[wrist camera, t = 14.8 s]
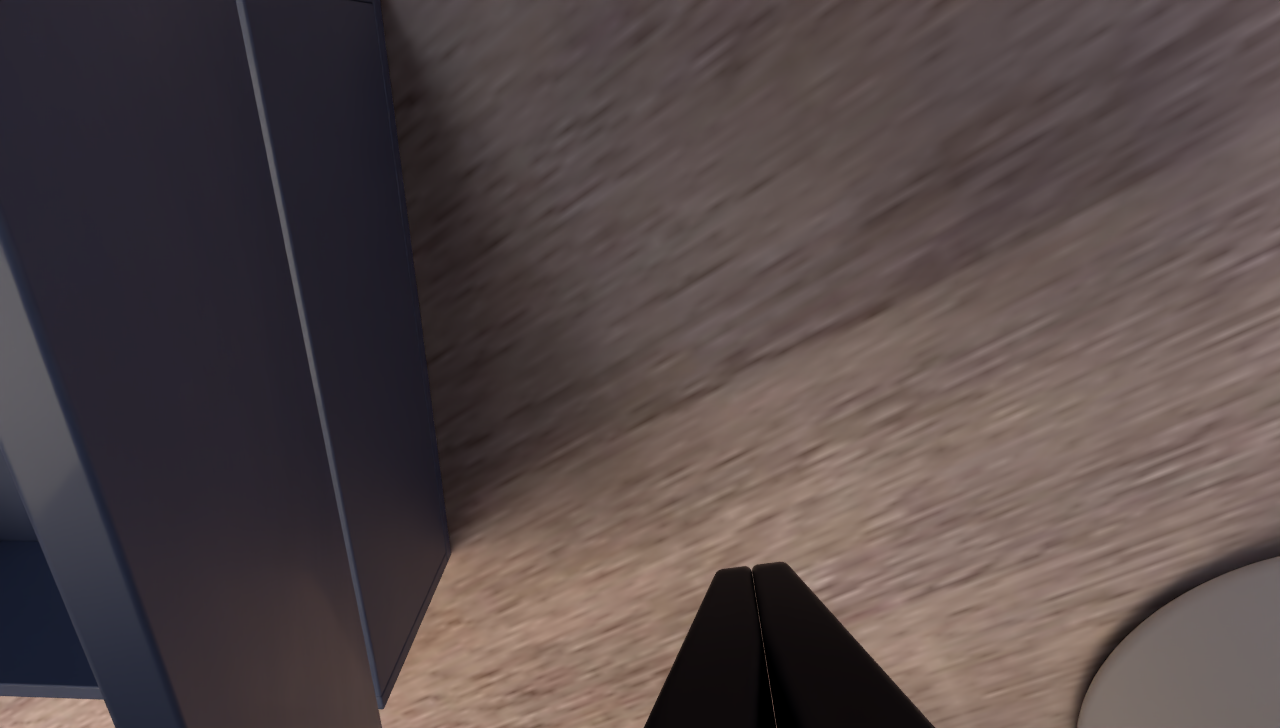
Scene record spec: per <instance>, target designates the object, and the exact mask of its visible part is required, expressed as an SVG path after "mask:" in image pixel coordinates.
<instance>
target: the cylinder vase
mask: <svg viewBox="0 0 1280 728" xmlns="http://www.w3.org/2000/svg"><path fill="white" fill-rule="evenodd" d="M1077 728H1280V556H1278V557H1274V558H1270V559H1267V560H1263V561H1260V562H1256V563H1253V564H1250V565H1247V566H1244V567H1241V568H1238V569H1236V570H1233V571H1230V572H1228V573H1225V574H1223V575H1221V576H1218V577H1216V578H1214V579H1211V580H1209V581H1207V582H1205V583H1203V584H1201V585H1199V586H1197V587H1195V588H1193V589H1191V590H1189V591H1188V592H1186V593H1184V594H1182V595H1181V596H1179V597H1177V598H1176V599H1174V600H1172V601H1171V602H1169V603H1168V604H1166V605H1165V606H1163V607H1162V608H1160V609H1159V610H1158V611H1156V612H1155V613H1153V614H1152V615H1151V616H1149V617H1148V618H1147V619H1146V620H1144V621H1143V622H1142V623H1141V624H1140V625H1138V626H1137V627H1136V628H1135V629H1134V630H1133V631H1132V632H1131V633H1130V634H1129V635H1127V637H1126V638H1125V639H1124V640H1123V641H1122V642H1121V643H1120V644H1119V645H1118V646H1117V647H1116V648H1115V649H1114V650H1113V652H1112V653H1111V654H1110V655H1109V657H1108V658H1107V659H1106V660H1105V662H1104V663H1103V665H1102V666H1101V667H1100V669H1099V671H1098V672H1097V674H1096V675H1095V677H1094V679H1093V681H1092V683H1091V685H1090V686H1089V689H1088V691H1087V693H1086V695H1085V698H1084V700H1083V703H1082V707H1081V710H1080V714H1079V719H1078V724H1077Z"/></svg>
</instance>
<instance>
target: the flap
mask: <svg viewBox="0 0 1280 728" xmlns="http://www.w3.org/2000/svg"><path fill="white" fill-rule="evenodd" d="M0 449H1V452H2V454H3V456H4V459H5V461H6V464H7V466H8V469H9V471H10V473H11V476H12V478H13V481H14V483H15V485H16V488H17V490H18V493H19V495H20V498H21V500H22V502H23V505H24V507H25V510H26V512H27V515H28V517H29V519H30V522H31V524H32V527H33V529H34V531H35V534H36V536H37V539H38V541H39V544H40V546H41V548H42V551H43V553H44V556H45V558H46V561H47V563H48V565H49V568H50V570H51V573H52V575H53V577H54V580H55V582H56V585H57V587H58V590H59V592H60V594H61V597H62V599H63V602H64V604H65V607H66V609H67V611H68V614H69V616H70V619H71V621H72V623H73V626H74V628H75V631H76V633H77V636H78V638H79V640H80V643H81V645H82V648H83V650H84V653H85V655H86V657H87V660H88V662H89V665H90V667H91V669H92V672H93V674H94V677H95V679H96V682H97V684H98V686H99V689H100V691H101V694H102V696H103V699H104V701H105V703H106V706H107V708H108V711H109V713H110V715H111V718H112V720H113V723H114V725H115V728H382V725H381V720H380V715H379V710H378V705H377V700H376V695H375V690H374V686H373V681H372V676H371V671H370V666H369V661H368V656H367V651H366V646H365V641H364V636H363V631H362V626H361V621H360V616H359V611H358V606H357V601H356V596H355V591H354V586H353V581H352V576H351V571H350V566H349V561H348V556H347V551H346V546H345V541H344V536H343V531H342V526H341V521H340V516H339V511H338V506H337V501H336V497H335V492H334V487H333V482H332V477H331V472H330V467H329V462H328V457H327V452H326V447H325V442H324V437H323V432H322V427H321V422H320V417H319V412H318V407H317V402H316V397H315V392H314V387H313V382H312V377H311V372H310V367H309V362H308V357H307V352H306V347H305V342H304V337H303V332H302V327H301V322H300V317H299V313H298V308H297V303H296V298H295V293H294V288H293V283H292V278H291V273H290V268H289V263H288V258H287V253H286V248H285V243H284V238H283V233H282V228H281V223H280V218H279V213H278V208H277V203H276V198H275V193H274V188H273V183H272V178H271V173H270V168H269V163H268V158H267V153H266V148H265V143H264V138H263V133H262V128H261V124H260V119H259V114H258V109H257V104H256V99H255V94H254V89H253V84H252V79H251V74H250V69H249V64H248V59H247V54H246V49H245V44H244V39H243V34H242V29H241V24H240V19H239V14H238V9H237V4H236V0H0Z"/></svg>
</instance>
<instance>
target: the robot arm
mask: <svg viewBox="0 0 1280 728" xmlns="http://www.w3.org/2000/svg"><path fill="white" fill-rule="evenodd" d="M752 574H753V577H752ZM753 580H754V583H753ZM754 586H755V589H754ZM755 593H756V595H755ZM756 599H757V602H756ZM757 605H758V608H757ZM758 612H759V614H758ZM759 618H760V621H759ZM760 624H761V627H760ZM761 631H762V633H761ZM762 637H763V640H762ZM763 643H764V646H763ZM764 650H765V653H764ZM765 656H766V659H765ZM766 662H767V665H766ZM767 669H768V672H767ZM768 675H769V678H768ZM769 681H770V684H769ZM770 688H771V691H770ZM771 694H772V697H771ZM772 700H773V703H772ZM773 707H774V710H773ZM774 713H775V716H774ZM775 719H776V722H775ZM776 726H777V728H935V727H934V726H933V725H932V724H931V723H930V722H929V720H928V719H927V718H926V717H925V716H924V715H923V714H922V713H921V712H920V710H919V709H918V708H917V707H916V706H915V705H914V704H913V703H912V702H911V700H910V699H909V698H908V697H907V696H906V695H905V694H904V693H903V692H902V691H901V689H900V688H899V687H898V686H897V685H896V684H895V683H894V682H893V681H892V679H891V678H890V677H889V676H888V675H887V674H886V673H885V672H884V671H883V669H882V668H881V667H880V666H879V665H878V664H877V663H876V662H875V661H874V659H873V658H872V657H871V656H870V655H869V654H868V653H867V652H866V651H865V649H864V648H863V647H862V646H861V645H860V644H859V643H858V642H857V641H856V639H855V638H854V637H853V636H852V635H851V634H850V633H849V632H848V631H847V629H846V628H845V627H844V626H843V625H842V624H841V623H840V622H839V621H838V619H837V618H836V617H835V616H834V615H833V614H832V613H831V612H830V611H829V610H828V608H827V607H826V606H825V605H824V604H823V603H822V602H821V601H820V600H819V598H818V597H817V596H816V595H815V594H814V593H813V592H812V591H811V590H810V588H809V587H808V586H807V585H806V584H805V583H804V582H803V581H802V580H801V578H800V577H799V576H798V575H797V574H796V573H795V572H794V571H793V570H792V568H791V567H790V566H789V565H788V564H786V563H784V562H775V563H767V564H759V565H755V566H754V567H753V569H752V571H751V569H750V568H749V567H747V566H742V567H734V568H726V569H721V570H719V571H717V572H716V574H715V576H714V578H713V580H712V582H711V584H710V586H709V589H708V591H707V593H706V595H705V597H704V599H703V601H702V604H701V606H700V608H699V610H698V612H697V614H696V617H695V619H694V621H693V623H692V625H691V627H690V629H689V632H688V634H687V636H686V638H685V640H684V642H683V644H682V647H681V649H680V651H679V653H678V655H677V657H676V659H675V662H674V664H673V666H672V668H671V670H670V672H669V675H668V677H667V679H666V681H665V683H664V685H663V687H662V690H661V692H660V694H659V696H658V698H657V700H656V702H655V705H654V707H653V709H652V711H651V713H650V715H649V718H648V720H647V722H646V724H645V726H644V728H776Z"/></svg>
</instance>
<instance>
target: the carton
mask: <svg viewBox="0 0 1280 728" xmlns="http://www.w3.org/2000/svg"><path fill="white" fill-rule="evenodd" d="M236 4H237V9H238V14H239V19H240V24H241V29H242V34H243V39H244V44H245V49H246V54H247V59H248V64H249V69H250V74H251V79H252V84H253V89H254V94H255V99H256V104H257V109H258V114H259V119H260V124H261V128H262V133H263V138H264V143H265V148H266V153H267V158H268V163H269V168H270V173H271V178H272V183H273V188H274V193H275V198H276V203H277V208H278V213H279V218H280V223H281V228H282V233H283V238H284V243H285V248H286V253H287V258H288V263H289V268H290V273H291V278H292V283H293V288H294V293H295V298H296V303H297V308H298V313H299V317H300V322H301V327H302V332H303V337H304V342H305V347H306V352H307V357H308V362H309V367H310V372H311V377H312V382H313V387H314V392H315V397H316V402H317V407H318V412H319V417H320V422H321V427H322V432H323V437H324V442H325V447H326V452H327V457H328V462H329V467H330V472H331V477H332V482H333V487H334V492H335V497H336V501H337V506H338V511H339V516H340V521H341V526H342V531H343V536H344V541H345V546H346V551H347V556H348V561H349V566H350V571H351V576H352V581H353V586H354V591H355V596H356V601H357V606H358V611H359V616H360V621H361V626H362V631H363V636H364V641H365V646H366V651H367V656H368V661H369V666H370V671H371V676H372V681H373V686H374V690H375V695H376V700H377V705H378V709H384V707H385V705H386V703H387V701H388V698H389V696H390V694H391V691H392V689H393V687H394V684H395V682H396V680H397V678H398V675H399V673H400V671H401V668H402V666H403V664H404V661H405V659H406V657H407V655H408V652H409V650H410V648H411V645H412V643H413V641H414V638H415V636H416V634H417V632H418V629H419V627H420V625H421V622H422V620H423V618H424V615H425V613H426V611H427V609H428V606H429V604H430V602H431V599H432V597H433V595H434V592H435V590H436V588H437V586H438V583H439V581H440V579H441V576H442V574H443V572H444V569H445V567H446V565H447V562H448V560H449V558H450V556H451V549H450V541H449V533H448V526H447V518H446V510H445V502H444V495H443V487H442V479H441V471H440V463H439V456H438V448H437V440H436V432H435V424H434V417H433V409H432V401H431V393H430V385H429V378H428V370H427V362H426V354H425V346H424V339H423V331H422V323H421V315H420V308H419V300H418V292H417V284H416V276H415V269H414V261H413V253H412V245H411V237H410V230H409V222H408V214H407V206H406V198H405V191H404V183H403V175H402V167H401V159H400V152H399V144H398V136H397V128H396V121H395V113H394V105H393V97H392V89H391V82H390V74H389V66H388V58H387V50H386V43H385V35H384V27H383V19H382V11H381V4H380V0H236ZM0 696H19V697H48V698H76V699H103V696H102V694H101V691H100V689H99V686H98V684H97V682H96V679H95V677H94V674H93V672H92V669H91V667H90V665H89V662H88V660H87V657H86V655H85V653H84V650H83V648H82V645H81V643H80V640H79V638H78V636H77V633H76V631H75V628H74V626H73V623H72V621H71V619H70V616H69V614H68V611H67V609H66V607H65V604H64V602H63V599H62V597H61V594H60V592H59V590H58V587H57V585H56V582H55V580H54V577H53V575H52V573H51V570H50V568H49V565H48V563H47V561H46V558H45V556H44V553H43V551H42V548H41V546H40V544H39V541H38V539H37V536H36V534H35V531H34V529H33V527H32V524H31V522H30V519H29V517H28V515H27V512H26V510H25V507H24V505H23V502H22V500H21V498H20V495H19V493H18V490H17V488H16V485H15V483H14V481H13V478H12V476H11V473H10V471H9V469H8V466H7V464H6V461H5V459H4V456H3V454H2V452H1V449H0Z"/></svg>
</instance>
